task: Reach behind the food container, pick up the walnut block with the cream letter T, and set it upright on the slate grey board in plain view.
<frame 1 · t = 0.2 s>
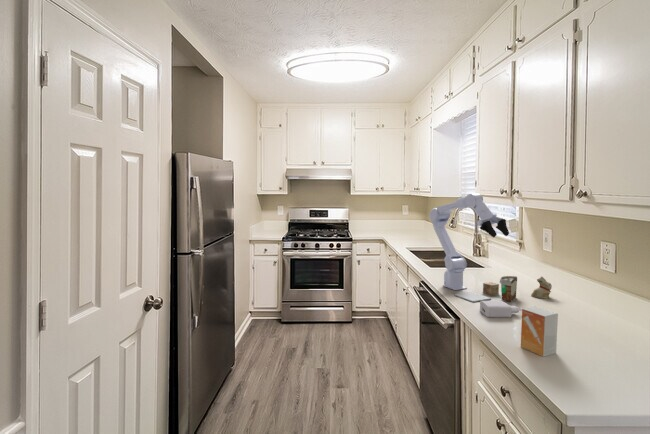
hand: (501, 235, 168), 31 cm above the countertop, tool tilted 45°, fingers open, 7 cm apart
slate board: (472, 297, 178), on the countertop
charger: (502, 315, 154), on the countertop
small box: (538, 350, 120), on the countertop
chocolate bunny: (541, 297, 179), on the countertop
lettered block: (490, 293, 185), on the countertop
food container: (506, 299, 175), on the countertop
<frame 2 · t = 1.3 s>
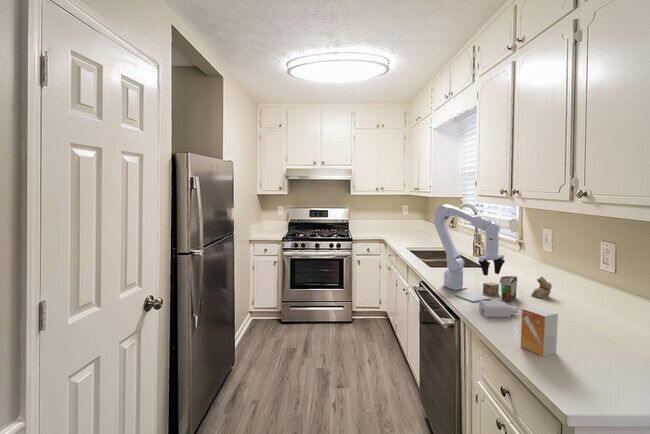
hand: (491, 274, 184), 9 cm above the countertop, tool pointing down, fingers open, 7 cm apart
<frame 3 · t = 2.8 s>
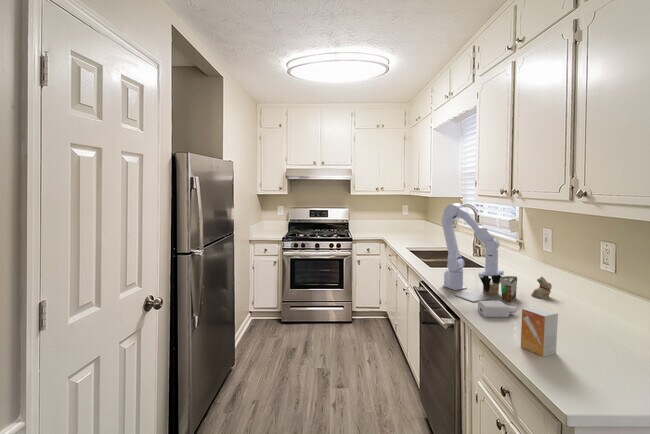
hand: (490, 290, 185), 1 cm above the countertop, tool pointing down, fingers closed on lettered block, 5 cm apart
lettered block: (490, 293, 185), on the countertop, touching gripper
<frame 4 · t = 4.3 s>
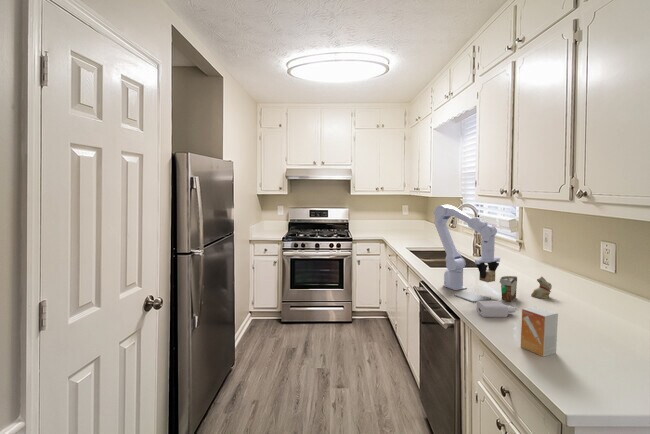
hand: (487, 277, 183), 8 cm above the countertop, tool pointing down, fingers closed on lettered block, 5 cm apart
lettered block: (487, 280, 183), point 7 cm above the countertop, touching gripper
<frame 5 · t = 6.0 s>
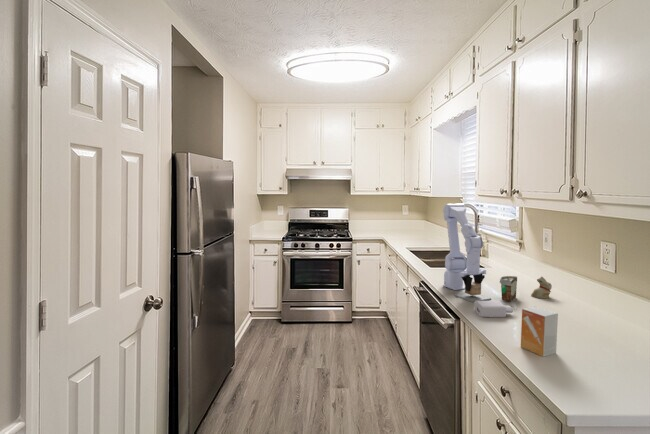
hand: (472, 290, 178), 4 cm above the countertop, tool pointing down, fingers closed on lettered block, 5 cm apart
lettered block: (472, 293, 178), point 2 cm above the countertop, touching gripper
when the fingers open (4 cm above the countertop, at t = 6.3 s): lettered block drops 1 cm, resting on slate board.
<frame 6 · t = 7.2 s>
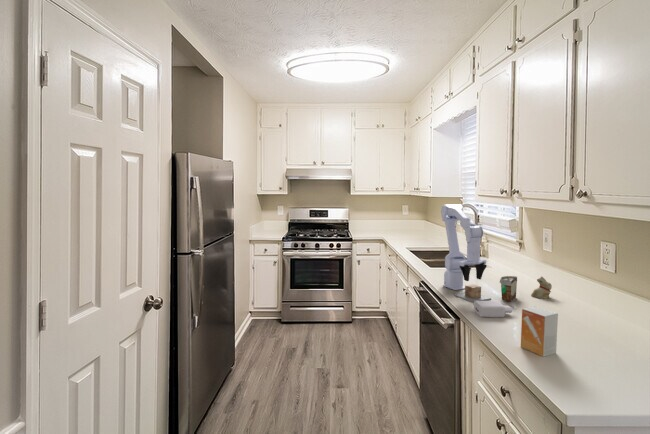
hand: (472, 279, 177), 9 cm above the countertop, tool pointing down, fingers open, 7 cm apart
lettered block: (472, 296, 178), point 1 cm above the countertop, touching slate board
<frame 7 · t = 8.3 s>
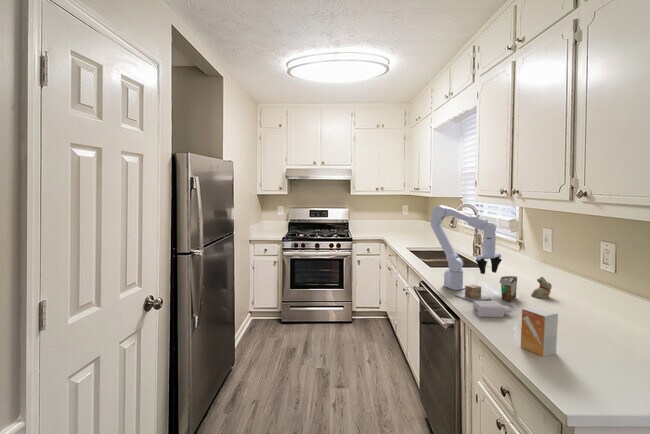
hand: (488, 273, 187), 9 cm above the countertop, tool pointing down, fingers open, 7 cm apart
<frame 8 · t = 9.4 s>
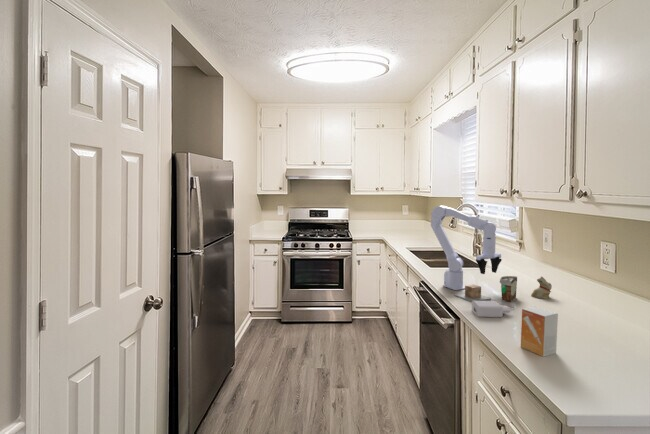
hand: (488, 273, 187), 9 cm above the countertop, tool pointing down, fingers open, 7 cm apart
at the end: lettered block inside the target area on the slate board (0.2 cm from its centre), point 0.6 cm above the slate board's base; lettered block tilted 0°; food container moved 0.2 cm from its start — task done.
